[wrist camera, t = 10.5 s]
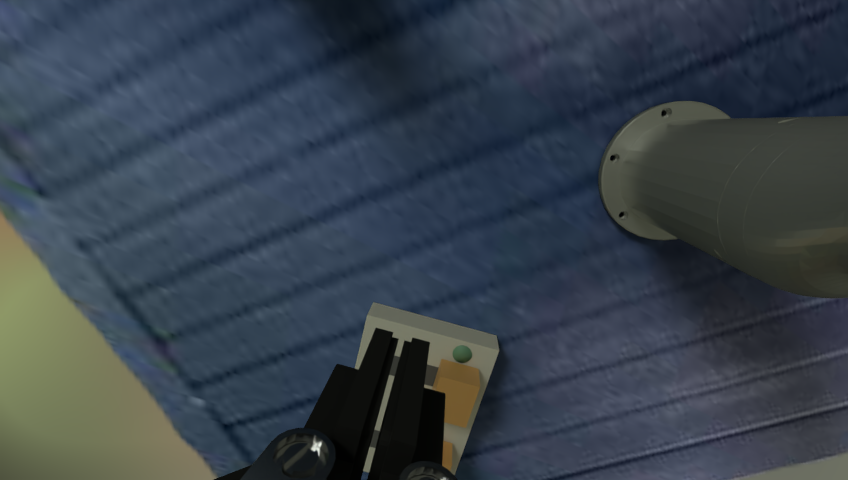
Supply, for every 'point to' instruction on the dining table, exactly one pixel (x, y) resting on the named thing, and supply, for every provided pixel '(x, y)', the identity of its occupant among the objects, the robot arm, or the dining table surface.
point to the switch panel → (432, 361)
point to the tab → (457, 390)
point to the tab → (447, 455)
